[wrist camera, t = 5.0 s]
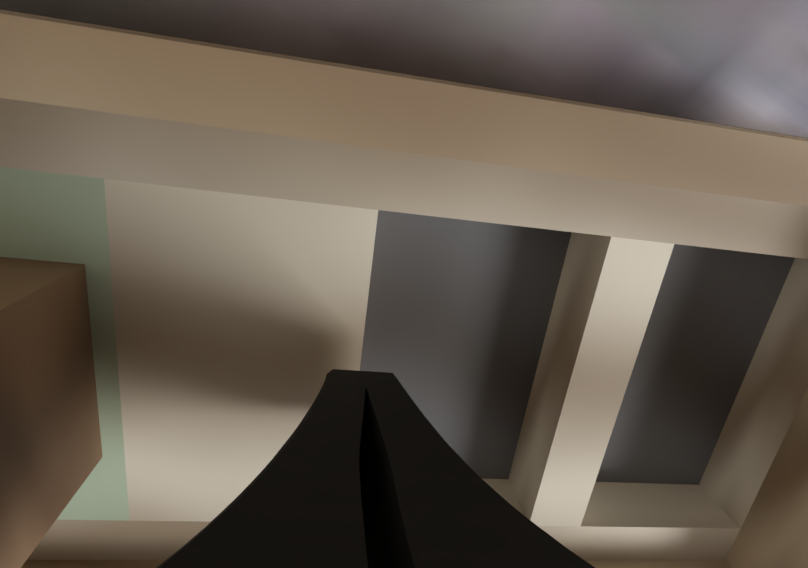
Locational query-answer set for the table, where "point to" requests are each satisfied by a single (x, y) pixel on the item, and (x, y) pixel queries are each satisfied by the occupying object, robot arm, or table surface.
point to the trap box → (414, 289)
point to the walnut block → (43, 399)
